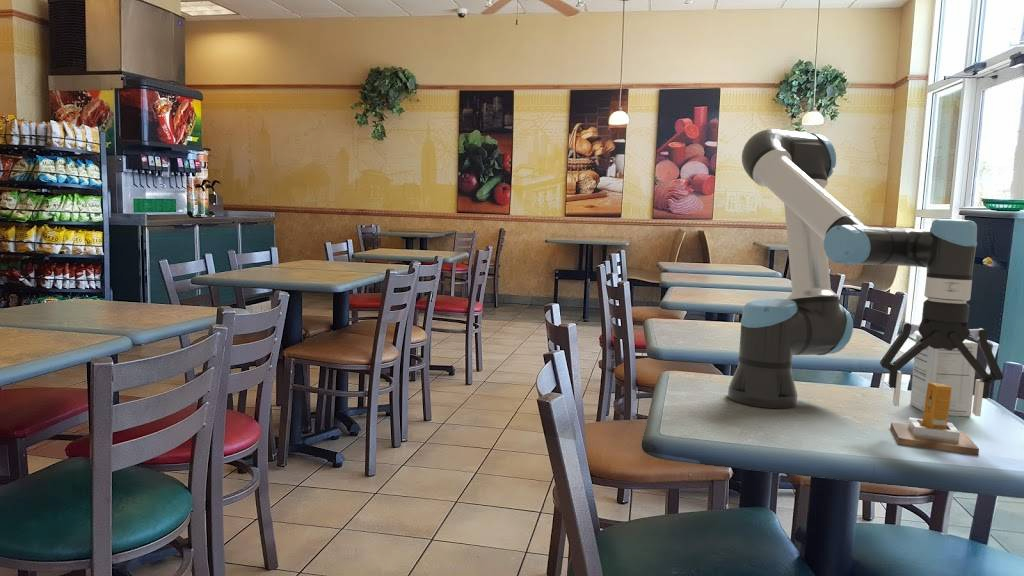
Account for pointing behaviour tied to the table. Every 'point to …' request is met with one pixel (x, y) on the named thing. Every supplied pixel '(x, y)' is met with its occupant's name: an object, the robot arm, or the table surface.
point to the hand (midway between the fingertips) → (935, 409)
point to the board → (933, 441)
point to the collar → (933, 431)
